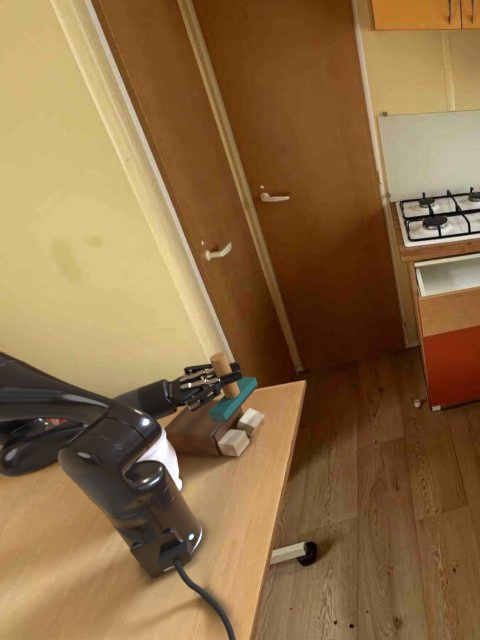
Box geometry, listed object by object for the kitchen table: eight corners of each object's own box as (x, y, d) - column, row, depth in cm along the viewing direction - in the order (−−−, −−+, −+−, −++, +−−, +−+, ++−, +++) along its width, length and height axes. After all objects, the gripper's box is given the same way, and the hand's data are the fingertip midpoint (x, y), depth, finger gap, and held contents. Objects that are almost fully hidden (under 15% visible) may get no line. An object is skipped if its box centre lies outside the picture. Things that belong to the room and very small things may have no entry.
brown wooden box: (248, 421, 107) (240, 401, 104) (221, 456, 99) (211, 435, 95) (203, 418, 108) (193, 398, 105) (172, 452, 100) (160, 431, 96)
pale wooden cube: (234, 440, 102) (249, 442, 102) (222, 454, 99) (238, 456, 98) (229, 429, 101) (245, 430, 100) (217, 443, 97) (233, 445, 97)
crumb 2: (245, 416, 106) (260, 423, 107) (234, 429, 103) (250, 436, 103) (249, 407, 104) (264, 414, 105) (238, 420, 101) (254, 427, 102)
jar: (188, 466, 96) (166, 417, 90) (188, 501, 89) (163, 449, 82) (129, 490, 91) (100, 439, 85) (122, 529, 83) (91, 476, 77)
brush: (227, 423, 92) (206, 375, 85) (212, 421, 92) (189, 374, 86) (258, 386, 102) (241, 341, 95) (244, 385, 102) (227, 340, 95)
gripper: (134, 414, 79) (239, 374, 88) (136, 372, 89) (231, 340, 98) (150, 441, 82) (250, 400, 91) (151, 398, 92) (241, 365, 101)
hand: (239, 369), depth 94 cm, fingers closed on brush, 3 cm apart
